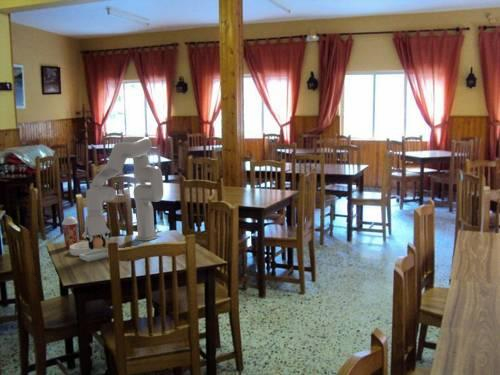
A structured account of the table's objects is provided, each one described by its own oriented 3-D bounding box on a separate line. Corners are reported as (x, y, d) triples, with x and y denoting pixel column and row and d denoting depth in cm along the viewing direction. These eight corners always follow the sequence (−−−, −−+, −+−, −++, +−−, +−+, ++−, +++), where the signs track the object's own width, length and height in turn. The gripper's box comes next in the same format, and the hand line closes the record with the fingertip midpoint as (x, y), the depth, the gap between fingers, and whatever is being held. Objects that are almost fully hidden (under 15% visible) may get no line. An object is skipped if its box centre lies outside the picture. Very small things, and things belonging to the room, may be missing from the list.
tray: (107, 251, 279) (107, 247, 279) (116, 255, 273) (116, 250, 273) (79, 258, 268) (79, 254, 268) (88, 261, 262) (87, 257, 262)
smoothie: (82, 244, 295) (79, 209, 292) (76, 248, 287) (73, 212, 284) (68, 244, 296) (65, 209, 293) (61, 248, 288) (58, 212, 285)
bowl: (90, 246, 291) (90, 240, 291) (104, 251, 281) (104, 244, 280) (65, 252, 281) (64, 245, 280) (78, 257, 271) (77, 250, 270)
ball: (99, 246, 274) (99, 235, 273) (105, 248, 270) (104, 237, 269) (89, 248, 270) (88, 237, 269) (94, 250, 266) (94, 239, 265)
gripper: (106, 209, 276) (108, 243, 278) (75, 214, 264) (78, 249, 266) (114, 211, 270) (116, 245, 273) (82, 216, 258) (85, 252, 261)
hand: (97, 247), depth 270 cm, fingers closed on ball, 5 cm apart
